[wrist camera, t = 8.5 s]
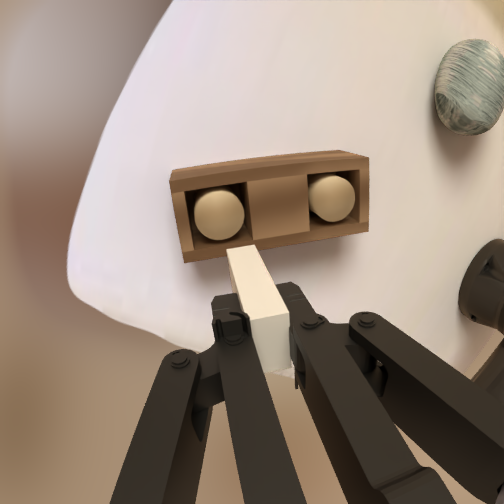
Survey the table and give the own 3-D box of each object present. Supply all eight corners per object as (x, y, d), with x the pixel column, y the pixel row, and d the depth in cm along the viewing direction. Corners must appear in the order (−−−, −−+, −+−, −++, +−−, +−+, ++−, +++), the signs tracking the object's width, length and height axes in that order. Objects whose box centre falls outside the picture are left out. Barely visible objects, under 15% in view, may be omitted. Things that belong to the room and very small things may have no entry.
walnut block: (341, 213, 34) (368, 231, 29) (184, 238, 32) (184, 263, 27) (339, 150, 31) (369, 157, 26) (172, 170, 29) (169, 181, 24)
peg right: (332, 204, 33) (354, 218, 28) (296, 209, 32) (314, 224, 27) (331, 166, 31) (354, 175, 26) (294, 170, 30) (312, 179, 26)
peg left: (237, 218, 31) (246, 235, 27) (196, 224, 31) (199, 243, 26) (232, 177, 30) (241, 188, 25) (190, 184, 29) (191, 196, 24)
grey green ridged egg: (471, 161, 31) (517, 133, 21) (411, 118, 32) (444, 76, 22) (489, 92, 32) (524, 59, 22) (437, 54, 32) (464, 13, 23)
